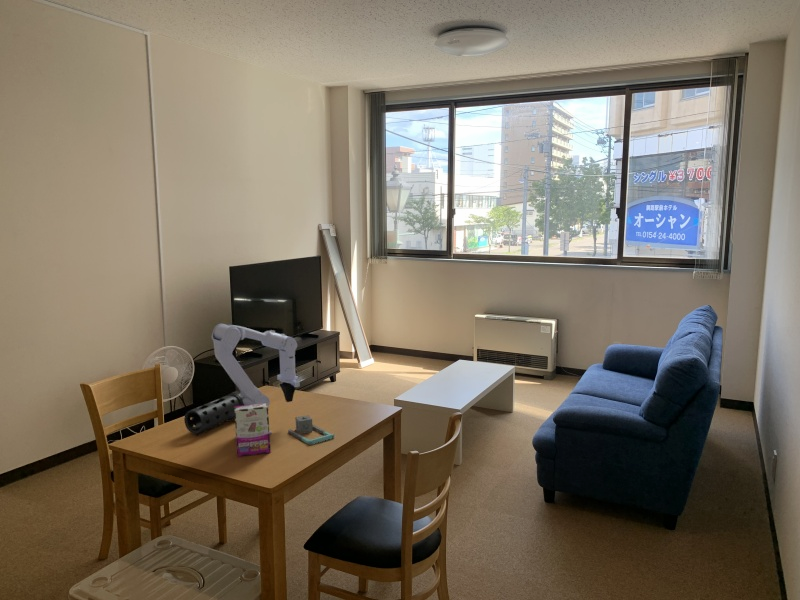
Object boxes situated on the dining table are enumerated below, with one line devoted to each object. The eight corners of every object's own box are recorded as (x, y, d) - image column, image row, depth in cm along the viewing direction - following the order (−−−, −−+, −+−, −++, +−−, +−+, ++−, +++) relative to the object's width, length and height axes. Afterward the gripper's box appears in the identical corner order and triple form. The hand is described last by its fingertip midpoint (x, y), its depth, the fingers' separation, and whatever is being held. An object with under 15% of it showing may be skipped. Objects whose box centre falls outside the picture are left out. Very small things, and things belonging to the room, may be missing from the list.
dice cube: (299, 434, 221) (299, 421, 220) (295, 429, 225) (295, 417, 225) (312, 432, 223) (312, 419, 222) (308, 427, 227) (308, 415, 227)
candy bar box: (269, 447, 208) (267, 402, 206) (270, 453, 203) (268, 406, 201) (236, 451, 205) (234, 405, 203) (236, 457, 200) (234, 410, 198)
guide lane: (310, 445, 210) (309, 441, 210) (288, 432, 222) (288, 428, 222) (334, 438, 216) (334, 434, 216) (311, 426, 228) (311, 422, 228)
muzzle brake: (184, 435, 222) (182, 408, 221) (235, 412, 247) (234, 388, 246) (204, 438, 218) (202, 411, 216) (253, 415, 243) (252, 390, 241)
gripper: (306, 368, 225) (307, 403, 227) (288, 361, 236) (289, 395, 238) (289, 372, 221) (291, 407, 223) (271, 364, 232) (273, 398, 234)
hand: (289, 401), depth 230 cm, fingers closed
